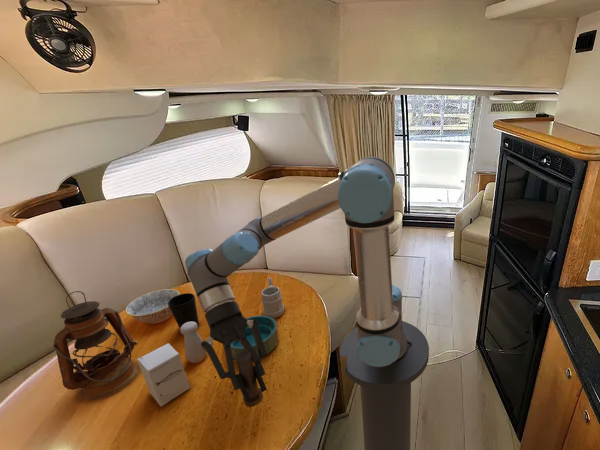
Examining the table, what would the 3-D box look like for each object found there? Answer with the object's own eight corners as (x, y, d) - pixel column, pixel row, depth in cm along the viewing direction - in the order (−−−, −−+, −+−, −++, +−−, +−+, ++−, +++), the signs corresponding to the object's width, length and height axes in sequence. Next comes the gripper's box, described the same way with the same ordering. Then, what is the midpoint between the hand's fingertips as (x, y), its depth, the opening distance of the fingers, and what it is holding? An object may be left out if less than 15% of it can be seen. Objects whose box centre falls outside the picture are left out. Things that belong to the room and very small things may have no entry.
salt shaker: (196, 367, 94) (185, 333, 90) (182, 362, 96) (171, 328, 91) (213, 353, 99) (203, 320, 95) (199, 349, 101) (189, 316, 96)
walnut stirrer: (266, 391, 80) (256, 349, 75) (258, 407, 76) (247, 363, 71) (249, 391, 80) (238, 349, 75) (240, 407, 76) (228, 363, 71)
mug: (263, 321, 114) (257, 293, 110) (264, 303, 124) (259, 277, 120) (285, 316, 117) (280, 289, 112) (284, 299, 127) (280, 273, 123)
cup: (206, 325, 112) (198, 297, 108) (184, 338, 106) (174, 308, 102) (195, 318, 116) (187, 290, 112) (172, 330, 110) (163, 301, 105)
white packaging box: (160, 408, 82) (146, 371, 77) (150, 394, 86) (135, 358, 81) (191, 388, 87) (179, 353, 83) (179, 376, 91) (167, 341, 87)
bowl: (159, 334, 108) (153, 317, 105) (120, 330, 110) (113, 312, 107) (194, 307, 122) (190, 290, 120) (159, 303, 125) (154, 287, 122)
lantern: (126, 354, 99) (92, 272, 88) (156, 364, 96) (124, 279, 85) (59, 399, 84) (7, 306, 73) (90, 412, 81) (41, 317, 70)
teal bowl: (286, 329, 110) (283, 315, 108) (267, 364, 95) (264, 348, 93) (242, 329, 110) (239, 315, 108) (217, 363, 96) (213, 347, 94)
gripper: (251, 298, 87) (285, 378, 82) (183, 325, 77) (218, 418, 72) (255, 289, 82) (292, 374, 76) (182, 317, 71) (219, 417, 66)
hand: (256, 395), depth 74 cm, fingers closed on walnut stirrer, 3 cm apart
